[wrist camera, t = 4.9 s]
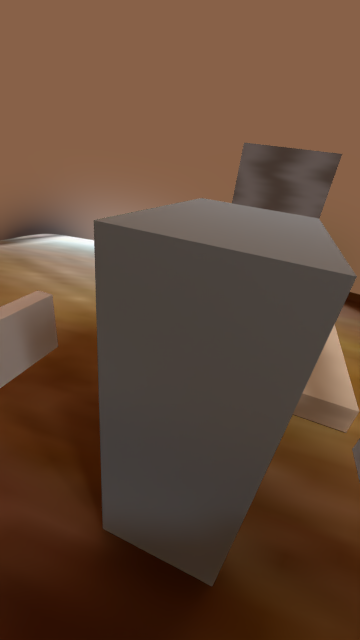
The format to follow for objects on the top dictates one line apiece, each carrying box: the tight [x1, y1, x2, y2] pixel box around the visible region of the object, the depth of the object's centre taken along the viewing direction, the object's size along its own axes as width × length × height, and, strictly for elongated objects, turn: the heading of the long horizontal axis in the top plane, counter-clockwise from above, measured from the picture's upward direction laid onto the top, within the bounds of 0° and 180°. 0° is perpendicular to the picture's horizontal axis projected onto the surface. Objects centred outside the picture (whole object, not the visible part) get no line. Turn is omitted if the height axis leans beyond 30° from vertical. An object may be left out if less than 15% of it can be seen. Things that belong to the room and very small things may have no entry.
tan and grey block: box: [232, 143, 359, 432], centre depth 27 cm, size 18×24×17 cm
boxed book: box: [94, 198, 357, 586], centre depth 12 cm, size 5×8×13 cm, turn 160°
